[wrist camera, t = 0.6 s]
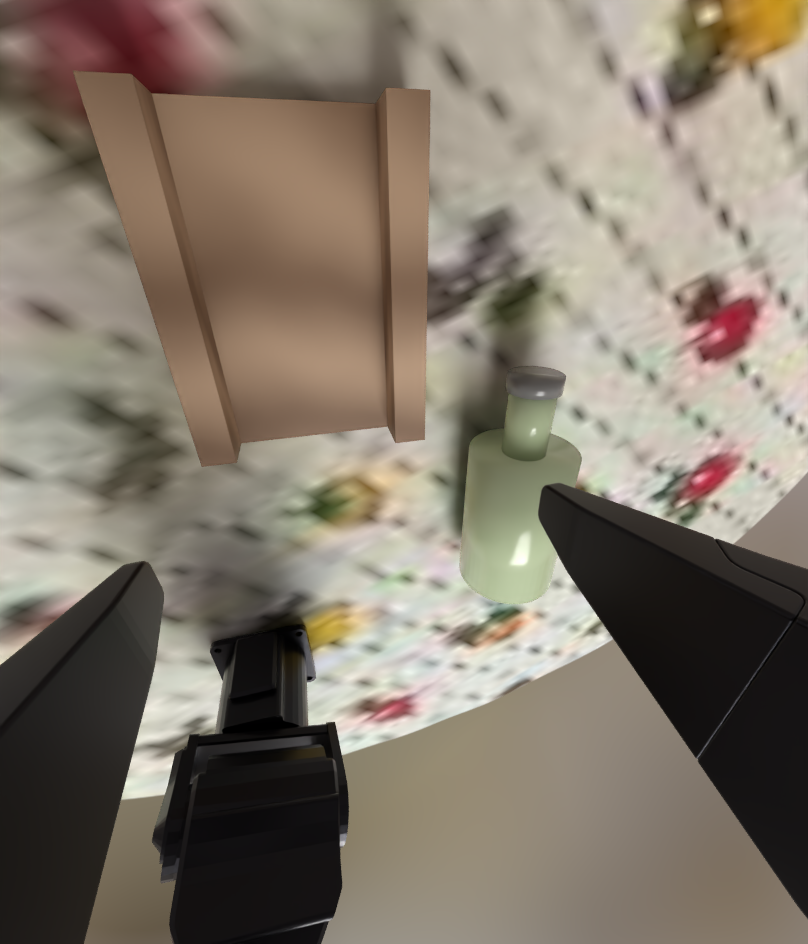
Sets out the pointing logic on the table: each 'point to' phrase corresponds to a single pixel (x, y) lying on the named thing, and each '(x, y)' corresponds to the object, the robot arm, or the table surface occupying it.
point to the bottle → (515, 491)
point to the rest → (276, 254)
